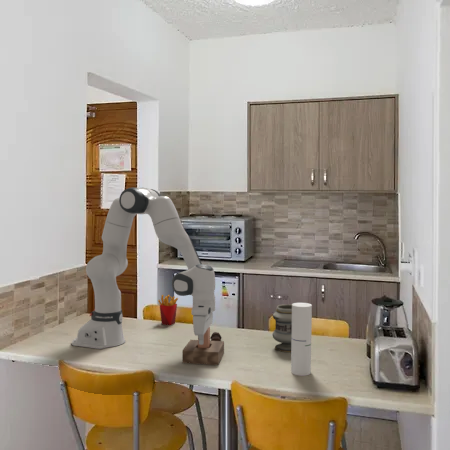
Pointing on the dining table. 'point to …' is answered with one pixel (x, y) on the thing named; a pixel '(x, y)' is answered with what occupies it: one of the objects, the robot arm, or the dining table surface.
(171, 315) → the french fries
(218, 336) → the bolt
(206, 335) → the peg
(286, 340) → the apothecary jar
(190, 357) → the socket block
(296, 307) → the cylindrical container
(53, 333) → the dining table surface
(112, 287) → the robot arm
